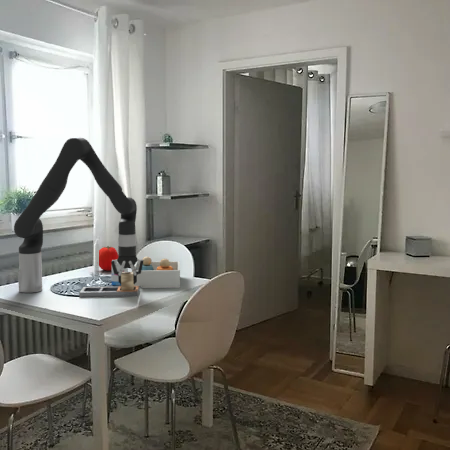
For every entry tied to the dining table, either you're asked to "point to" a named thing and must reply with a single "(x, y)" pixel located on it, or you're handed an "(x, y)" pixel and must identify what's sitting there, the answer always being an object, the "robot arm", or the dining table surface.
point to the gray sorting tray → (108, 292)
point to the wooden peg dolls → (163, 266)
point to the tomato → (107, 257)
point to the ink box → (115, 277)
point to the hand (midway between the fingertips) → (127, 283)
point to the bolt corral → (159, 276)
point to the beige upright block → (127, 281)
